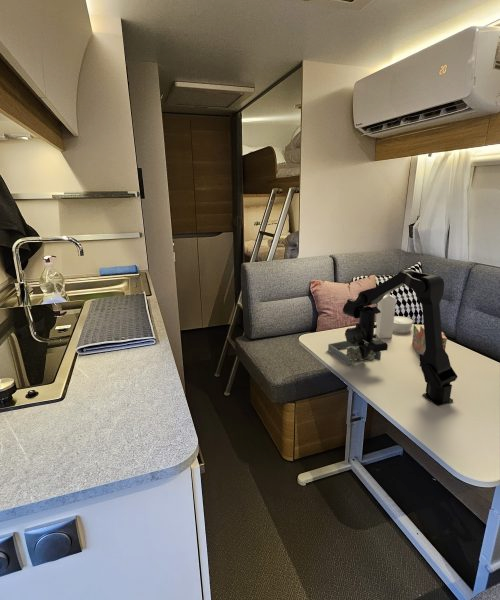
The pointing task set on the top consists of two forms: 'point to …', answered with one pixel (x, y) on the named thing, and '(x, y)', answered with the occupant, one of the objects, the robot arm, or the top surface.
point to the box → (339, 345)
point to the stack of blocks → (422, 339)
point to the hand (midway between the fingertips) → (363, 358)
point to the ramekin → (402, 324)
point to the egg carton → (354, 353)
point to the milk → (385, 317)
